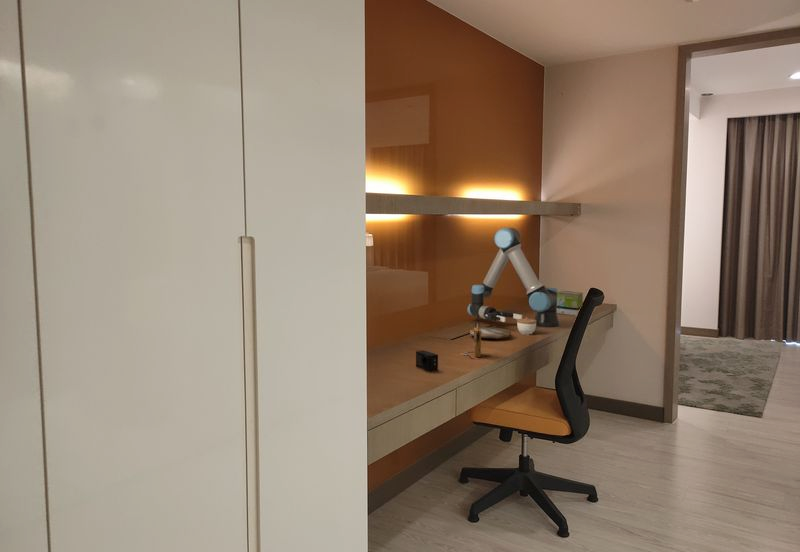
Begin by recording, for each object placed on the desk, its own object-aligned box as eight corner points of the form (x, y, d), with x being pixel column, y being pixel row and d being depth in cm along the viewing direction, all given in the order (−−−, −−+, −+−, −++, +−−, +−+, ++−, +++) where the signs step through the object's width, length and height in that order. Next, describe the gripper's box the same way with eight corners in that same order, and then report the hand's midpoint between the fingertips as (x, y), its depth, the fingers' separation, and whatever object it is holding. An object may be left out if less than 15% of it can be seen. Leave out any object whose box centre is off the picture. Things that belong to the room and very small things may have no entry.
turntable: (491, 328, 349) (491, 325, 349) (519, 335, 331) (519, 331, 331) (461, 332, 337) (461, 329, 336) (489, 339, 319) (489, 336, 319)
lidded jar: (536, 336, 338) (536, 319, 337) (516, 335, 341) (517, 318, 340) (535, 332, 349) (536, 316, 348) (516, 331, 351) (517, 315, 350)
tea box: (555, 313, 414) (556, 291, 412) (560, 311, 422) (561, 290, 420) (577, 315, 405) (578, 293, 404) (582, 313, 413) (583, 292, 412)
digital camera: (413, 366, 270) (413, 351, 269) (423, 365, 273) (423, 349, 273) (427, 372, 262) (428, 356, 261) (437, 370, 265) (438, 354, 264)
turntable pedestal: (490, 334, 341) (490, 332, 341) (503, 337, 333) (503, 335, 333) (477, 336, 335) (477, 334, 335) (489, 339, 327) (489, 337, 327)
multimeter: (458, 352, 299) (458, 311, 297) (478, 352, 298) (479, 311, 296) (460, 359, 284) (460, 316, 282) (481, 359, 284) (482, 317, 282)
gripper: (502, 317, 377) (528, 323, 360) (472, 320, 363) (497, 327, 345) (503, 305, 376) (528, 310, 359) (472, 308, 362) (498, 313, 344)
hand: (513, 318), depth 352 cm, fingers open, 13 cm apart
